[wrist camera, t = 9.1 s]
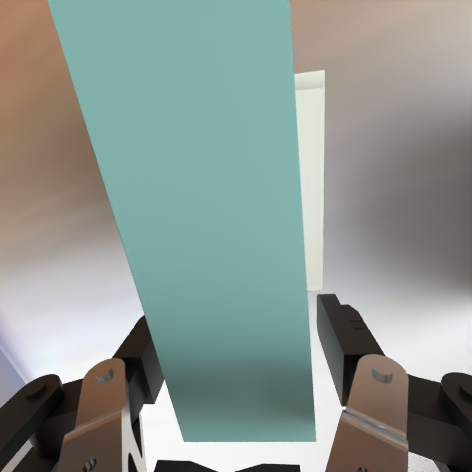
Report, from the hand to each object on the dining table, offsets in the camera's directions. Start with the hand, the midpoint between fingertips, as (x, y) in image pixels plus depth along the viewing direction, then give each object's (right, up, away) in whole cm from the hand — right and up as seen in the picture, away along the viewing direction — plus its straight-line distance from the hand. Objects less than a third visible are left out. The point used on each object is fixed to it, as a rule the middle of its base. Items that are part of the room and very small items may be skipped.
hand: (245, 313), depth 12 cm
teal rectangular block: (0, +5, 0) cm, 5 cm away
